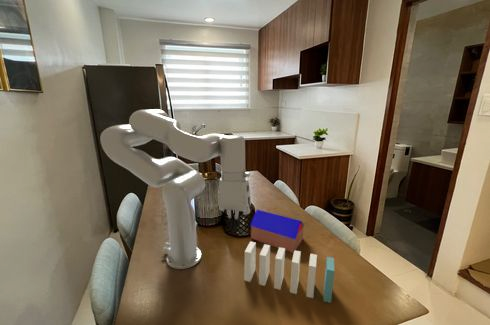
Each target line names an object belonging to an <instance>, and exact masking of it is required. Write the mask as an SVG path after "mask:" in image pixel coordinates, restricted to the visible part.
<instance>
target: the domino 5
mask: <svg viewBox="0 0 490 325" xmlns="http://www.w3.org/2000/svg"><path fill="white" fill-rule="evenodd" d="M317 259H318V254H314V253H310V255H309V261H308V271H307V272H308V274H307V283H306V284H307V285H306V298H310V299H314V296H315V295H314V294H315V284H316V272H317Z"/></svg>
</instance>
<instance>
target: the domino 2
mask: <svg viewBox="0 0 490 325" xmlns="http://www.w3.org/2000/svg"><path fill="white" fill-rule="evenodd" d="M270 261H271V245H269V244H266V243H263V247H262V248H261V250H260V252H259V262H258V263H259V264H258V265H259V267H258V268H259V269H258V270H259V271H258V285H260V286H264V287H265V286H266V285H267V284H266V283H267V282H268V281H267V280H268V278H269V275H270V267H271V266H270V265H271V264H270V263H271V262H270Z"/></svg>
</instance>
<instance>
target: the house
mask: <svg viewBox="0 0 490 325" xmlns="http://www.w3.org/2000/svg"><path fill="white" fill-rule="evenodd" d="M249 226H250V239H252V240H255V241H257V242H259V243H260V242H261V243H263V244H266V245H270V246H272V247H276V248H278V249H279V247H281V248H285V251H288V252H290V253H293V254H294V250H295V251H297V249H298V247H299V246H300V244H301V243H302V241H303V239H304V227H305V224H304V223H303V222H302V220H299V219H296V218H291V217H287V216H283V215H280V214H276V213H272V212H268V211H264V210H260V209H256V210H255V212H254V215H253V217H252V220H251V222H250V225H249Z"/></svg>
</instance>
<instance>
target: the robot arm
mask: <svg viewBox="0 0 490 325" xmlns="http://www.w3.org/2000/svg"><path fill="white" fill-rule="evenodd" d="M128 121H129V122H128V123H127V124H126V123H125V124H115V125H112V126H109V127H107V128H105V129H104V130H103V131H102V132H101V134H100V138H99V139H100V144H101V148H102V150H103V151H104V153H105V154H106V156H107V157H108V158H109V159H110V160H111V161H112V162H114V163H115V164H117V165H119V166H120V167H123V168H124V169H126V170H127V171H129V172H130V173H132V174H133V175H134V176H135V177H137V178H139V179H140V180H141V181H143V182H144V183H146V184H147V185H148V186H150V187H152V188H160V187H161V188H162V187H163V189H162V199H163V202H164V206H165V209H166V210H165V211H166V214H167V228H168V237H169V242H167V241H166V242H164V244H163V248H162V252H167V253H168V254H167V256H166V263H167V265H168V266H169V267H170V268H172V269H176V270H185V269H188V268H191V267H192V268H193V267H194V266H195V265H197V264H198V263H199V262H200V261H201V258H202V251H201V250H200V248H198V246H197V230H196V229H197V228H196V226H197V224H196V214H195V209H194V207H193V205H192V200H193V199H195V198H196V197H197V196H200V194H202V192H203V191H204V190H205V187H206V181H205V178H204V177H203V175H202V174H201V173H200V172H199V171H197V170H196V169H194V168H193V167H192V166H190V165H189V164H187V163H186V162H184V161H183V160H181V159H179V158H178V157H175V156H165V157H162V158H155V157H153V156H151V155H149V154H148V153H147V152H145V151H144V150H141V149H139V148H135V147H139V146H141V145H145V144H147V143H149V142H150V141H152V140H155V141H157V142H160V143H162V144H165V145H166V146H167V148H169V149H170V151H172V152H173V153H174V154H175V155H177V156H179V157H181V158H182V159H183V158H184V159H187V160H190V161H192V162H195V163H205V162H208V161H209V160H212V159H213V158H217V157H220V173H221V174H220V175H221V177H220V178H219V180H218V188H217V191H218V206H219V210H221V211H223V212H225V213H226V214H227V215H228V216H227V218H228V219H229V224H228V225H229V226H230V230H233V231H236V230H237V229H238V228H239V227H240V225H241V224H240V221H241V220H240V218H241V217H242V216H243V215H249V214H250V213H251V209H250V207H251V205H252V198H251V197H252V196H251V189H250V188H251V187H250V182H249V179H248V178H250V177H251V176H250V175H251V174H250V172H247V170H246V140H245V138H244V136H243V135H240V134H238V135H237V134H228V135H226V134H221V133H217V132H216V133H214V132H213V133H207V134H203V135H199V136H197V135H193V134H190V133H188V132H185V131H183V130H182V127H181V124H180V122H179V121H178V120H177V119H174V118H171V117H170V116H169V115H168V113H166V112H165V111H164V110H162V109H159V108H154V109H150V108H149V109H139V110H136V111H134V112H133V113H132V114H131V115H130V117H129V120H128ZM234 210H235V215H234Z"/></svg>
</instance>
